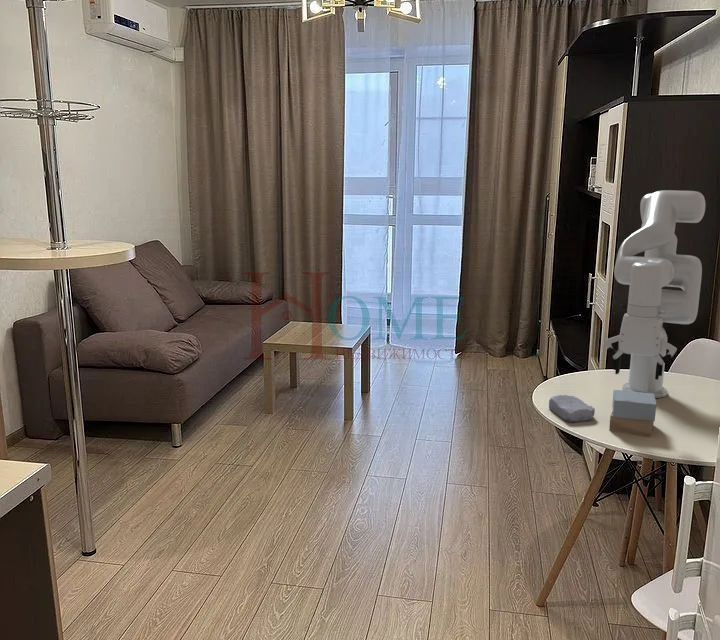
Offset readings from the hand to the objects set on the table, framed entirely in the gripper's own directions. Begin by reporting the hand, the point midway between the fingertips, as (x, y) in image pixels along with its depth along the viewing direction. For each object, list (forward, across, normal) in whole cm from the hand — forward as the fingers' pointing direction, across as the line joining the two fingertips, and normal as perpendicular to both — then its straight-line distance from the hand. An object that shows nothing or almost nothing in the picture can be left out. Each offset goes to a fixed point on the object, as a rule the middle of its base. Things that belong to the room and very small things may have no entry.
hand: (637, 375), depth 181 cm
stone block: (+14, +12, -6) cm, 19 cm away
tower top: (+10, 0, 0) cm, 10 cm away
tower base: (+15, 0, 0) cm, 15 cm away
